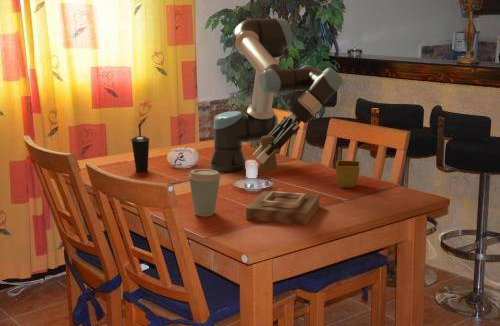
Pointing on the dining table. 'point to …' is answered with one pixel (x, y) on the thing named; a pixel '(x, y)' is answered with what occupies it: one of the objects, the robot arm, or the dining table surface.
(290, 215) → the walnut stand
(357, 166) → the flower pot
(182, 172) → the dining table surface
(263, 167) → the pepper mill
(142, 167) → the drinking cup
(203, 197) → the disposable coffee cup
